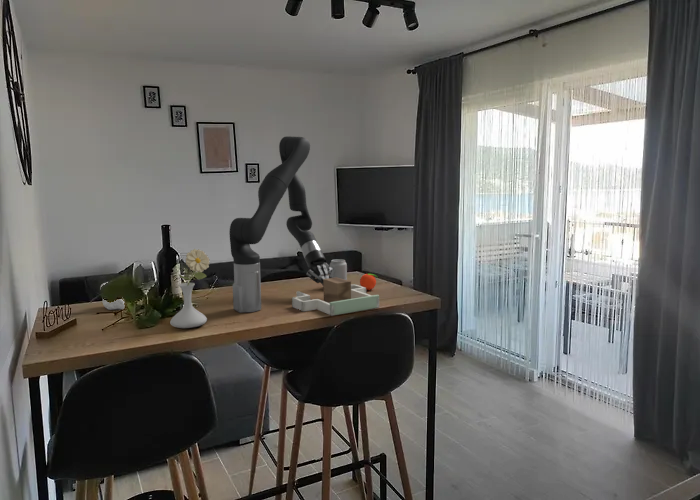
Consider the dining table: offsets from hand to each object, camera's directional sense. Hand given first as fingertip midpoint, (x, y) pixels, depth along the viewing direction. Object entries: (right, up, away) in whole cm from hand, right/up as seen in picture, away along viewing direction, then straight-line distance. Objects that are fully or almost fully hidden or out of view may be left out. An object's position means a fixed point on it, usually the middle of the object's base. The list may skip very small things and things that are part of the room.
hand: (329, 290), depth 195 cm
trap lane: (+3, -5, -4) cm, 7 cm away
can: (+3, -1, +25) cm, 25 cm away
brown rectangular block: (+3, -5, -4) cm, 7 cm away
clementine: (+16, -2, +19) cm, 25 cm away
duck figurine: (-79, -6, -10) cm, 80 cm away
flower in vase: (-43, -9, -32) cm, 54 cm away
